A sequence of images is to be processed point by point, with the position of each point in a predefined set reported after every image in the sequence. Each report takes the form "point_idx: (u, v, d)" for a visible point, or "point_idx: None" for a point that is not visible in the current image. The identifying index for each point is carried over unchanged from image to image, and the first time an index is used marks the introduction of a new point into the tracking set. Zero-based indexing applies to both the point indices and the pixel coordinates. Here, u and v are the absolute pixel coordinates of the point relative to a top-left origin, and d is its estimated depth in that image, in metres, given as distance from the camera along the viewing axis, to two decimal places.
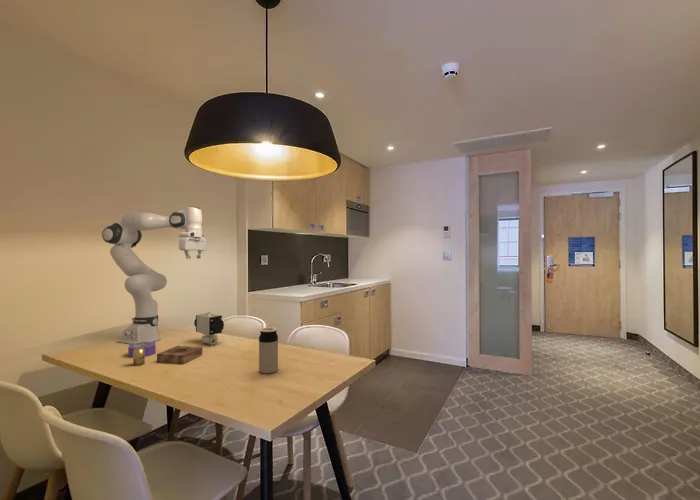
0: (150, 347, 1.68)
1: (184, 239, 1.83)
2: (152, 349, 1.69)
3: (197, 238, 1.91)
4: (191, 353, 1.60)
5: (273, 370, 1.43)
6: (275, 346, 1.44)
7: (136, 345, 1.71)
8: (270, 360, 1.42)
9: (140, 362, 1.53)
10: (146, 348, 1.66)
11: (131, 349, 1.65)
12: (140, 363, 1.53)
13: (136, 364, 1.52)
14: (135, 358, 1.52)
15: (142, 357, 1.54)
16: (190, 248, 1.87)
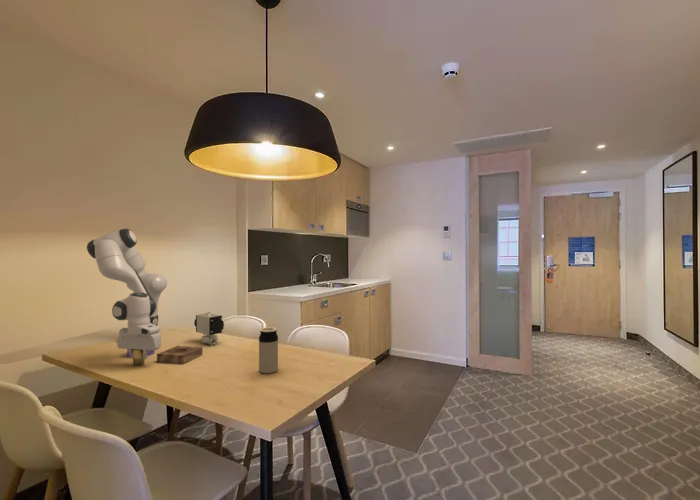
0: None
1: (159, 335, 1.54)
2: None
3: None
4: (191, 353, 1.60)
5: (273, 370, 1.43)
6: (275, 346, 1.44)
7: None
8: (270, 360, 1.42)
9: (140, 361, 1.53)
10: None
11: None
12: (140, 363, 1.53)
13: (136, 364, 1.52)
14: (135, 358, 1.52)
15: None
16: None
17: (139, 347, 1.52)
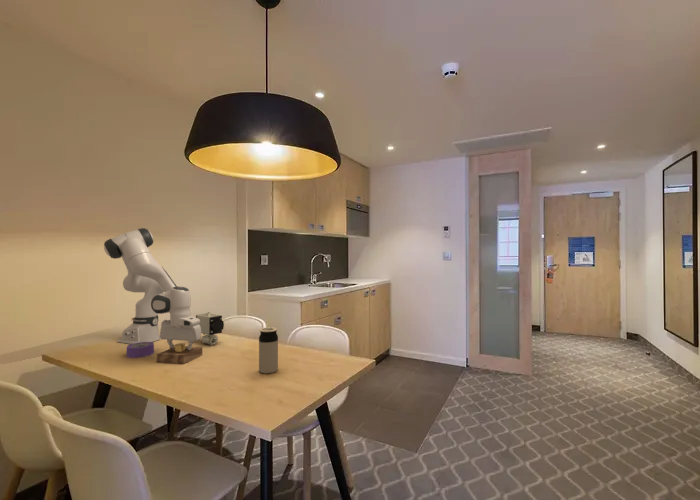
0: (148, 347, 1.68)
1: (199, 327, 1.62)
2: (150, 349, 1.69)
3: None
4: (191, 353, 1.60)
5: (273, 370, 1.43)
6: (275, 346, 1.44)
7: (134, 345, 1.71)
8: (270, 360, 1.42)
9: None
10: (144, 348, 1.66)
11: (129, 349, 1.64)
12: None
13: None
14: None
15: None
16: None
17: (181, 338, 1.61)
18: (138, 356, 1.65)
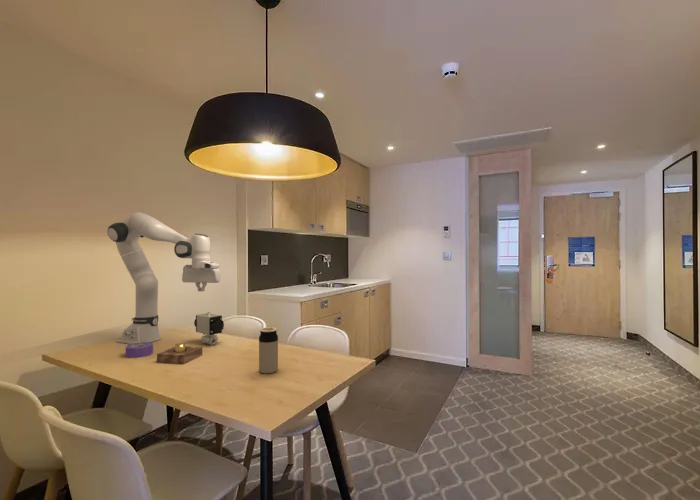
0: (147, 347, 1.68)
1: (218, 271, 1.75)
2: (149, 349, 1.69)
3: None
4: (191, 353, 1.60)
5: (273, 370, 1.43)
6: (275, 346, 1.44)
7: (133, 345, 1.71)
8: (270, 360, 1.42)
9: None
10: (143, 348, 1.66)
11: (128, 349, 1.64)
12: None
13: None
14: None
15: None
16: None
17: (202, 280, 1.73)
18: (137, 356, 1.64)
